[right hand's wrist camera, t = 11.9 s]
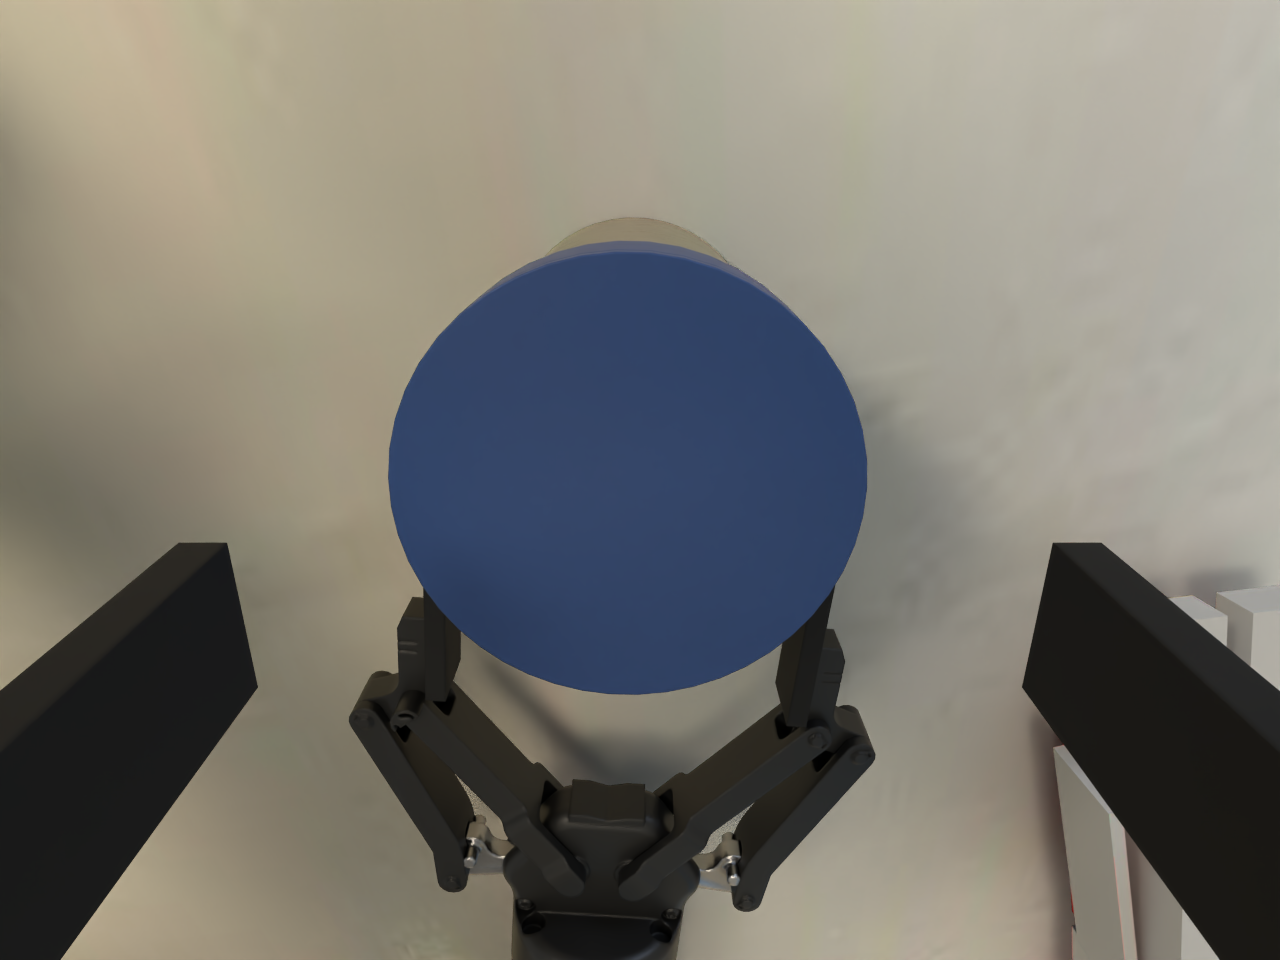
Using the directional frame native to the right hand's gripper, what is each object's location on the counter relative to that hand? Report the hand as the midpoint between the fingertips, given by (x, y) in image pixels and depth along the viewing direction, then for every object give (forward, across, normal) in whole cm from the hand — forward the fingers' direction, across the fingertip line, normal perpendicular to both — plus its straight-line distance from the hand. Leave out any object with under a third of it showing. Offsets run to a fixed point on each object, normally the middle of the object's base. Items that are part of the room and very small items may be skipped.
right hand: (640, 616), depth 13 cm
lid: (+5, 0, 0) cm, 5 cm away
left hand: (+15, 0, +6) cm, 16 cm away
